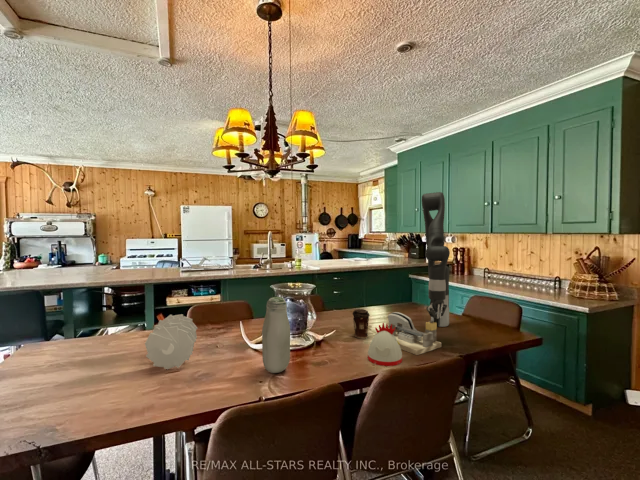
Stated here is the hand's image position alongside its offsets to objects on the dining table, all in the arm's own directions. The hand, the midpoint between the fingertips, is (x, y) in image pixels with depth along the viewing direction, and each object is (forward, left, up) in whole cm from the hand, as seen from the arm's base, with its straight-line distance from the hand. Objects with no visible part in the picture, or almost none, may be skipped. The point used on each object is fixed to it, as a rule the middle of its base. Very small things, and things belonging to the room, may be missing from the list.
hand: (436, 325), depth 151 cm
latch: (+4, 0, -1) cm, 4 cm away
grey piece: (-4, -25, -9) cm, 27 cm away
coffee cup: (+22, -28, -9) cm, 37 cm away
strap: (+10, -7, -3) cm, 13 cm away
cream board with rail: (+10, -7, -8) cm, 15 cm away
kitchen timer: (+33, -1, -9) cm, 34 cm away
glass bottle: (+75, -16, -9) cm, 77 cm away
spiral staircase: (+105, -49, -9) cm, 116 cm away
